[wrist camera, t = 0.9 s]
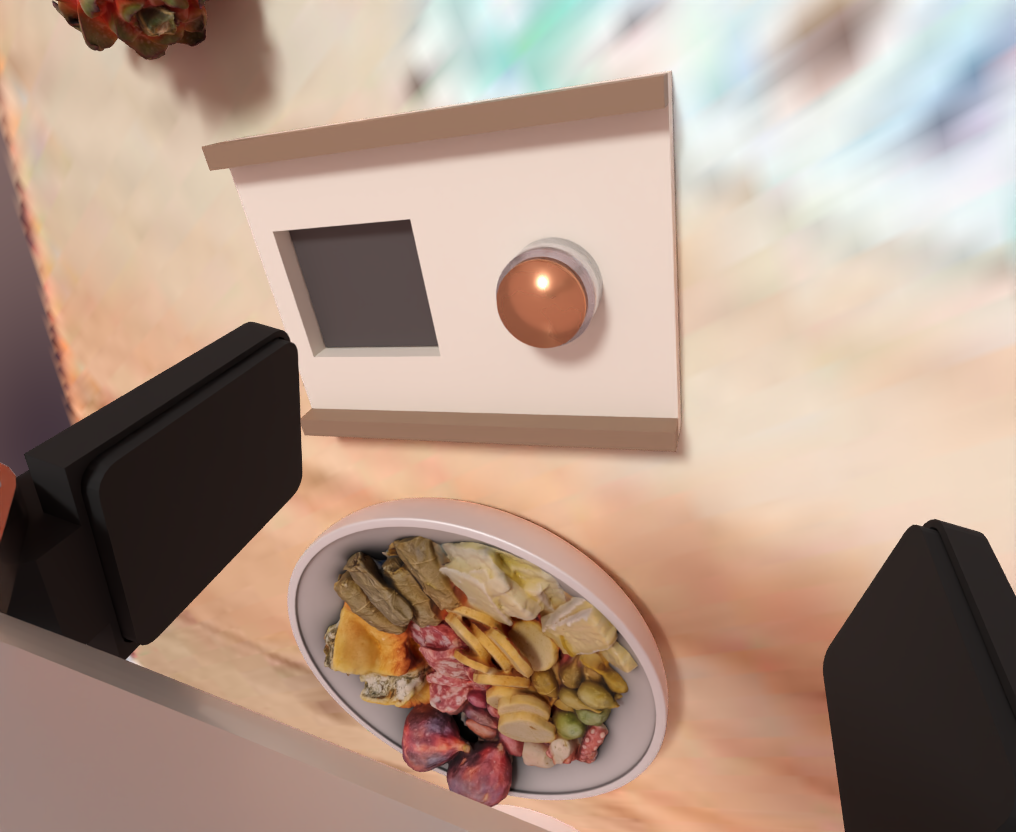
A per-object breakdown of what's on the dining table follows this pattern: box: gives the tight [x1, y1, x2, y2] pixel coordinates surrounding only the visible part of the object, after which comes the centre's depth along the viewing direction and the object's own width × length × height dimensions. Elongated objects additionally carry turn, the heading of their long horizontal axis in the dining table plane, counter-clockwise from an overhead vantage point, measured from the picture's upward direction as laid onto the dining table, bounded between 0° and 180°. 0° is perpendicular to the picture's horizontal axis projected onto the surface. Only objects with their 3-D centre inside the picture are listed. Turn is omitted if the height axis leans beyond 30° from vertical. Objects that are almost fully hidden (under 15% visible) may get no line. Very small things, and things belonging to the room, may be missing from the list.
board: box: [202, 70, 681, 452], centre depth 35 cm, size 24×18×3 cm
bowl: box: [288, 498, 668, 807], centre depth 49 cm, size 30×30×8 cm
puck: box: [496, 237, 603, 348], centre depth 32 cm, size 5×5×3 cm
